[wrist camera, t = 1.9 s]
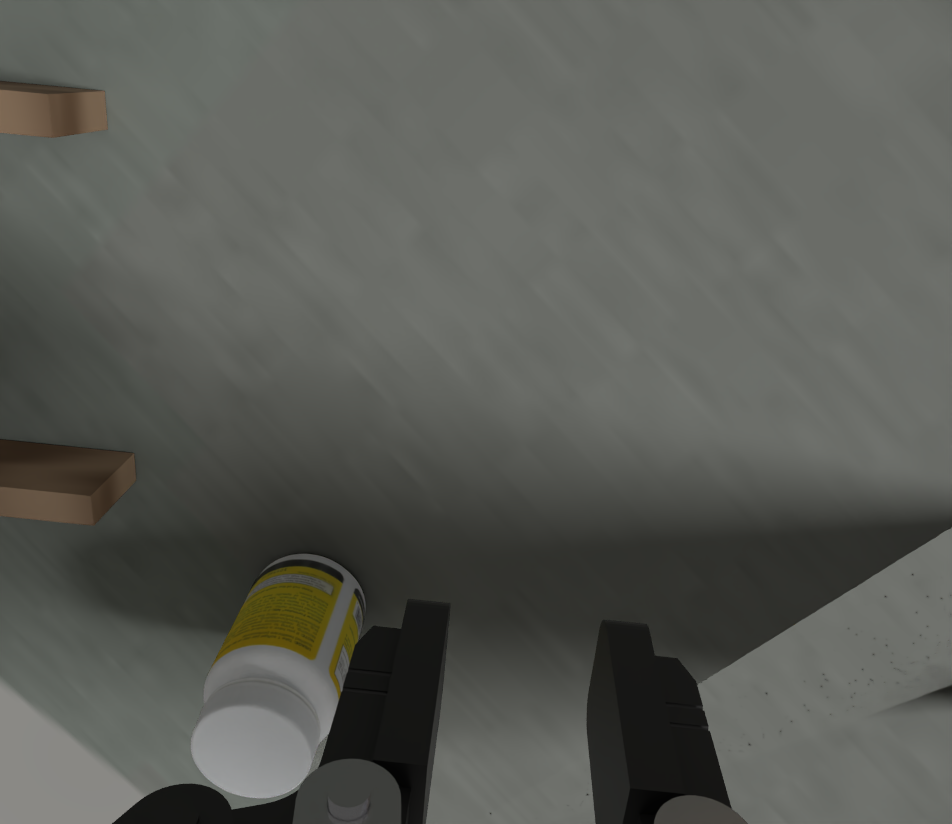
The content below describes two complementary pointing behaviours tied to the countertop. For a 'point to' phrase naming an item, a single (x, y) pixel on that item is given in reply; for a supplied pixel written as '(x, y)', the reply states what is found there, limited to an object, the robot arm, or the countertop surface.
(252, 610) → the supplement bottle
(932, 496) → the countertop surface
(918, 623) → the countertop surface
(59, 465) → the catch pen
